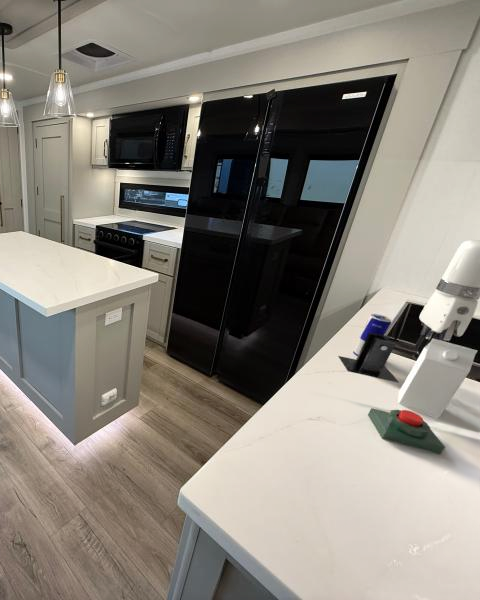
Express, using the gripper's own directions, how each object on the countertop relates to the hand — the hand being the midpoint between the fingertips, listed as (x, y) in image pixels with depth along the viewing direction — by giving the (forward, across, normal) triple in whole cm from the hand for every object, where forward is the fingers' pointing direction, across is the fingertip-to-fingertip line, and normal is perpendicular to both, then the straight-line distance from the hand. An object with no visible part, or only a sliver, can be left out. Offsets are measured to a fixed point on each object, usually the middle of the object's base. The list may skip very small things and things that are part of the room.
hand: (422, 350), depth 86 cm
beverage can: (+11, +9, +8) cm, 16 cm away
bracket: (+10, 0, +10) cm, 14 cm away
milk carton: (+10, -14, +4) cm, 18 cm away
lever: (+3, 0, +5) cm, 5 cm away
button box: (+10, -27, +12) cm, 31 cm away
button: (+7, -27, +12) cm, 30 cm away
